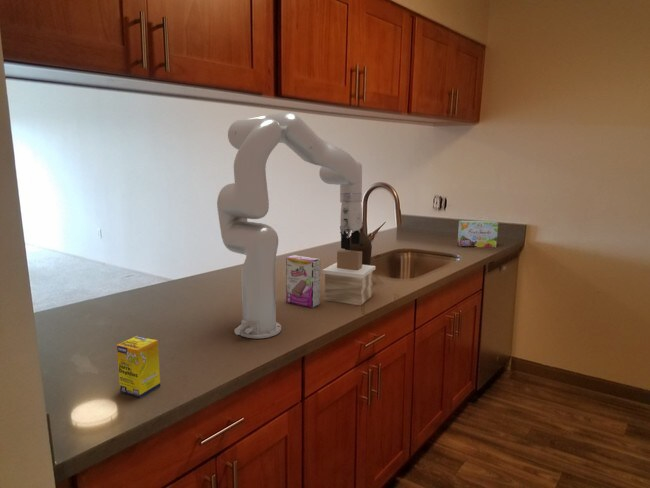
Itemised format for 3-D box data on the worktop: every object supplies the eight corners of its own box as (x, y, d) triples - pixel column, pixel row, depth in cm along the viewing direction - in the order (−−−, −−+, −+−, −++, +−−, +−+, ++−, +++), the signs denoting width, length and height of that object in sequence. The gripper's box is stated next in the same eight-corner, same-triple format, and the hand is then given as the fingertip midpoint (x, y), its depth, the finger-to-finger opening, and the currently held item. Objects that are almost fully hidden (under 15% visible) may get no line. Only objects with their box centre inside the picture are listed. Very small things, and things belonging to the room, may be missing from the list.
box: (360, 305, 156) (361, 277, 155) (324, 300, 162) (325, 273, 160) (371, 295, 168) (372, 269, 166) (338, 291, 173) (338, 265, 171)
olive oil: (376, 284, 184) (378, 222, 179) (357, 288, 177) (358, 224, 172) (357, 278, 191) (359, 219, 187) (339, 282, 185) (339, 221, 180)
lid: (362, 278, 154) (363, 257, 152) (322, 273, 160) (322, 253, 158) (375, 269, 166) (376, 249, 165) (337, 265, 172) (337, 246, 171)
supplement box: (119, 392, 97) (115, 344, 95) (140, 380, 103) (137, 334, 101) (140, 398, 95) (136, 349, 93) (161, 386, 100) (158, 339, 98)
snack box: (459, 247, 262) (461, 221, 259) (457, 245, 267) (458, 220, 264) (496, 247, 262) (498, 221, 259) (493, 245, 267) (495, 220, 264)
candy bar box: (285, 303, 159) (285, 257, 155) (293, 299, 163) (293, 254, 160) (312, 308, 153) (312, 260, 150) (320, 304, 157) (320, 258, 154)
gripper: (352, 200, 149) (351, 251, 152) (369, 196, 164) (368, 242, 168) (331, 199, 152) (331, 250, 155) (349, 195, 167) (349, 241, 171)
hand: (350, 246), depth 162 cm, fingers open, 9 cm apart
